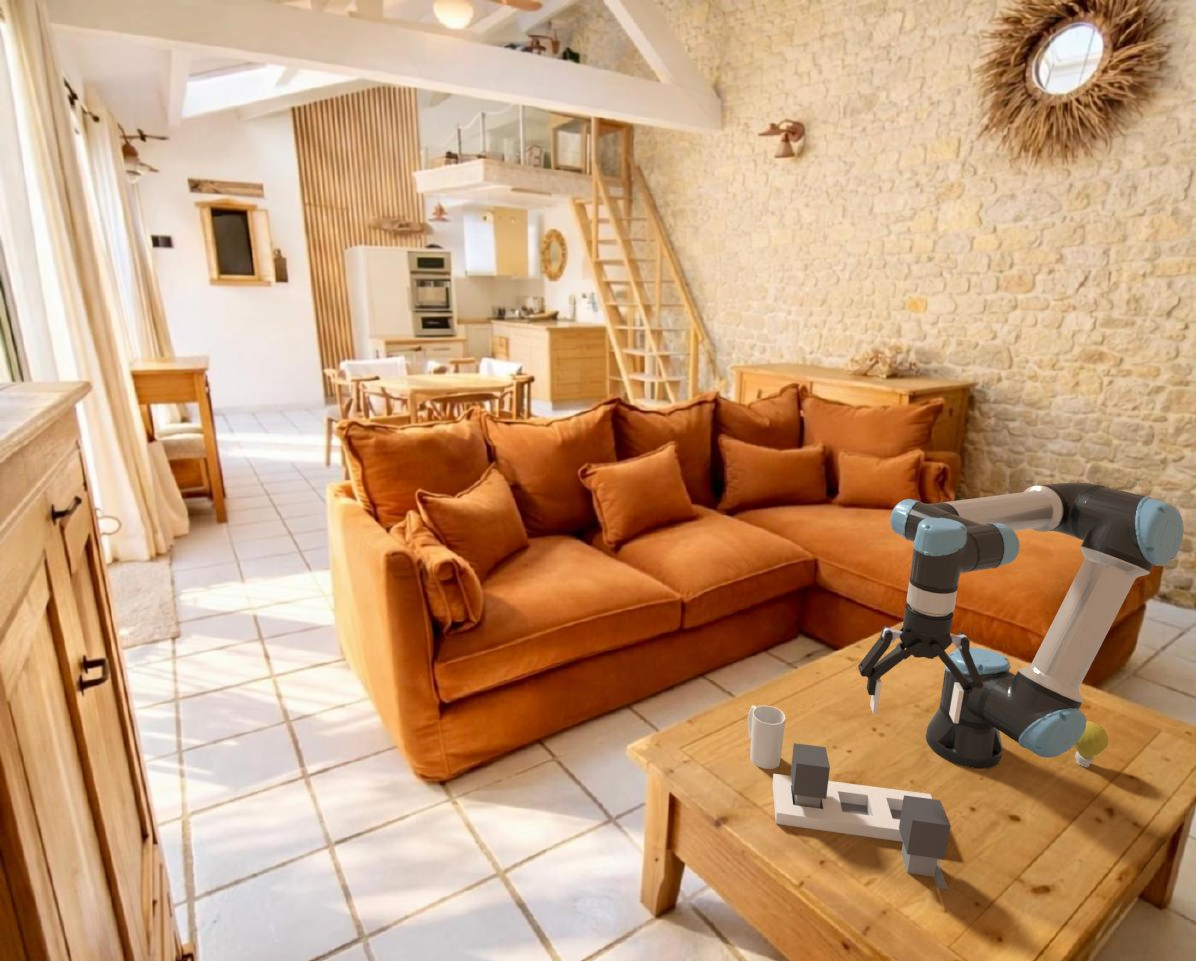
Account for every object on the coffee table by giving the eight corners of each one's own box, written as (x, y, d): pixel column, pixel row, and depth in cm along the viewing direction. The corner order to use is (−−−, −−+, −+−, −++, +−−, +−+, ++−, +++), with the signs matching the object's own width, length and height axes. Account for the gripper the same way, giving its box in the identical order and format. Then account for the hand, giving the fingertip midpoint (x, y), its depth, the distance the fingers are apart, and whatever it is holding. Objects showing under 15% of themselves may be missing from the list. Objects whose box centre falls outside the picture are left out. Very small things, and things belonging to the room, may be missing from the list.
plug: (930, 855, 123) (940, 800, 120) (940, 883, 117) (950, 825, 114) (895, 850, 124) (903, 795, 121) (903, 877, 118) (912, 820, 115)
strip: (927, 808, 135) (931, 790, 134) (944, 852, 124) (948, 832, 123) (771, 788, 140) (773, 770, 139) (775, 828, 130) (777, 809, 128)
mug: (787, 768, 146) (792, 720, 143) (761, 777, 143) (765, 727, 140) (758, 741, 155) (762, 694, 151) (733, 748, 152) (737, 701, 149)
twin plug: (819, 798, 136) (825, 747, 133) (823, 820, 130) (829, 767, 127) (788, 794, 137) (793, 743, 134) (791, 816, 131) (796, 763, 128)
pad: (934, 854, 124) (934, 852, 124) (947, 891, 116) (948, 888, 116) (887, 848, 125) (888, 845, 125) (898, 884, 118) (898, 881, 117)
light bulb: (1097, 758, 150) (1107, 719, 147) (1104, 777, 144) (1115, 737, 141) (1061, 750, 153) (1070, 711, 150) (1067, 768, 147) (1076, 728, 144)
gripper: (1000, 604, 119) (980, 710, 125) (850, 591, 124) (838, 694, 129) (1017, 624, 112) (995, 735, 118) (857, 610, 116) (844, 718, 122)
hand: (913, 714), depth 124 cm, fingers open, 13 cm apart
